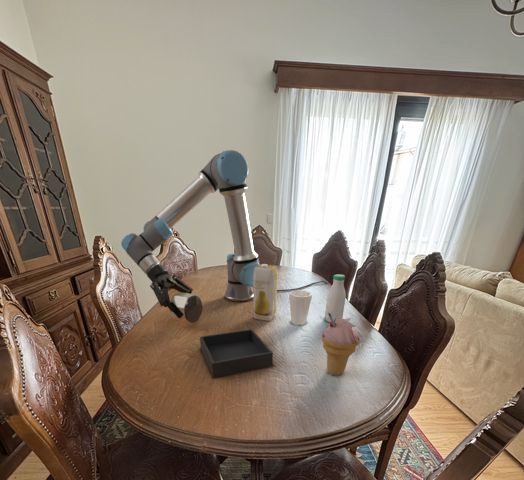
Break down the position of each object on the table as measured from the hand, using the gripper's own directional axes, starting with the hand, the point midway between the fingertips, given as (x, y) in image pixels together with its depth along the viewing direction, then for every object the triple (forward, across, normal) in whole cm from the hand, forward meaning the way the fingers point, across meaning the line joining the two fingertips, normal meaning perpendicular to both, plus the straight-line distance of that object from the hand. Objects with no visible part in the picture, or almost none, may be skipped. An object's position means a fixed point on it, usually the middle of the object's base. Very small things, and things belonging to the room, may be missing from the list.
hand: (190, 311), depth 117 cm
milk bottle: (+42, -33, +32) cm, 63 cm away
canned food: (+46, -17, +35) cm, 60 cm away
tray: (+25, +15, +15) cm, 33 cm away
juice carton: (+22, -22, +12) cm, 33 cm away
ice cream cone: (+49, +10, +38) cm, 63 cm away
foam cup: (+33, -24, +22) cm, 46 cm away
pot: (-2, 0, 0) cm, 2 cm away
